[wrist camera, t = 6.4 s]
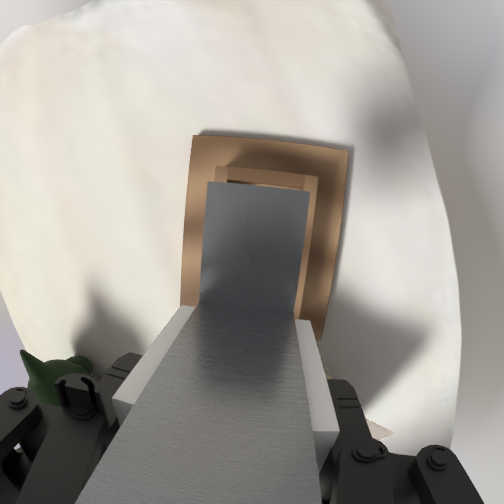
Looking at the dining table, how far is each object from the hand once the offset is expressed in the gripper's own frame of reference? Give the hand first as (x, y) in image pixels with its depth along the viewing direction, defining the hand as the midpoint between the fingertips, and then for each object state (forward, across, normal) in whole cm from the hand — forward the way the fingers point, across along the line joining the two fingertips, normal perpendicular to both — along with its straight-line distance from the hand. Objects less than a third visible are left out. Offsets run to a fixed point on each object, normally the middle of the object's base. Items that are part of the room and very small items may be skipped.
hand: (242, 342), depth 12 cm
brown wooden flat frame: (+16, 0, -2) cm, 16 cm away
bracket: (+2, 0, -3) cm, 3 cm away
